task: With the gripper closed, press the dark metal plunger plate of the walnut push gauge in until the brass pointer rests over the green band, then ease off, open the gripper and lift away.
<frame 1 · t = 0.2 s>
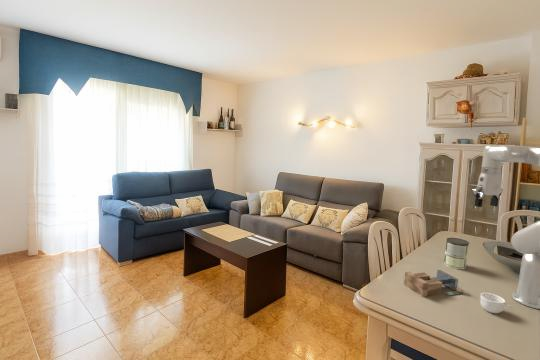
hand: (485, 206, 141), 36 cm above the table, tool pointing down, fingers open, 9 cm apart
gauge plunger: (441, 281, 132), point 3 cm above the table, slide at 0.0 cm
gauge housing: (431, 287, 133), on the table
coffee can: (454, 265, 159), on the table
teacup: (494, 311, 116), on the table
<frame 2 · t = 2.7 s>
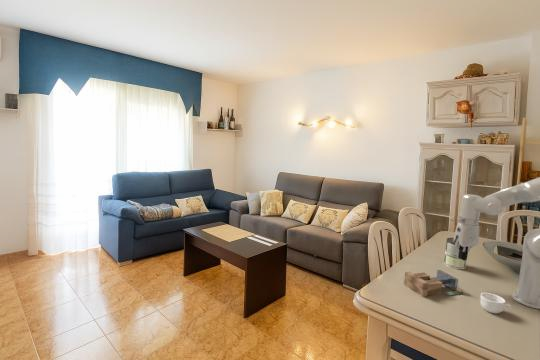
hand: (462, 258, 136), 12 cm above the table, tool pointing down, fingers closed
nothing on the table moved.
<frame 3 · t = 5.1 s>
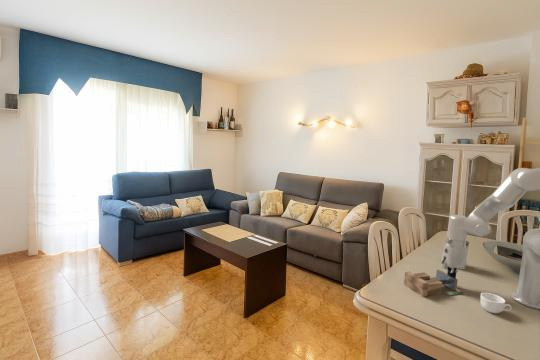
hand: (451, 279, 136), 3 cm above the table, tool pointing down, fingers closed
gauge plunger: (440, 281, 132), point 3 cm above the table, slide at 0.4 cm, touching gripper
everything else where it was.
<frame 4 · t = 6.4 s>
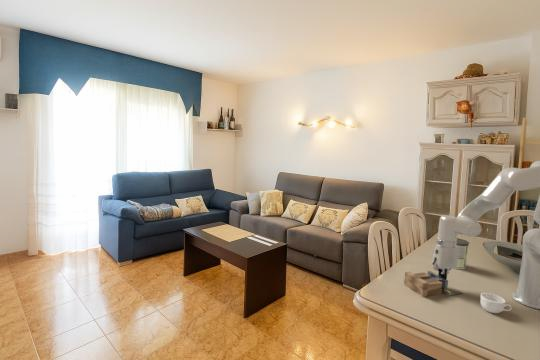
hand: (441, 281, 134), 3 cm above the table, tool pointing down, fingers closed
gauge plunger: (431, 282, 131), point 3 cm above the table, slide at 5.7 cm
everything else where it was.
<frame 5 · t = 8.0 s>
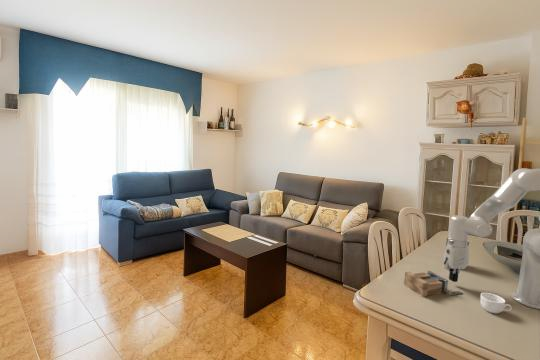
hand: (453, 280, 136), 2 cm above the table, tool pointing down, fingers closed
nothing on the table moved.
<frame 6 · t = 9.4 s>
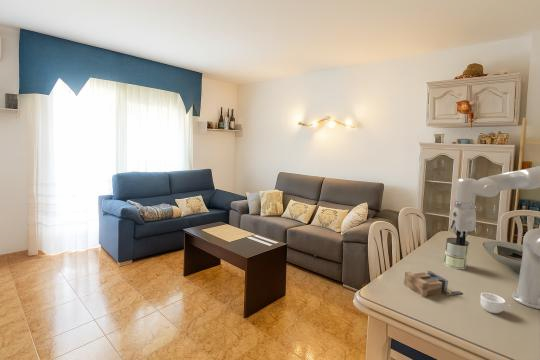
hand: (460, 244, 134), 20 cm above the table, tool pointing down, fingers closed
nothing on the table moved.
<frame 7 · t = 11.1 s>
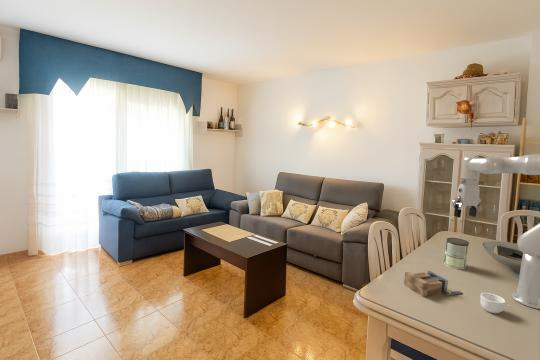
hand: (464, 216, 144), 30 cm above the table, tool pointing down, fingers open, 9 cm apart
nothing on the table moved.
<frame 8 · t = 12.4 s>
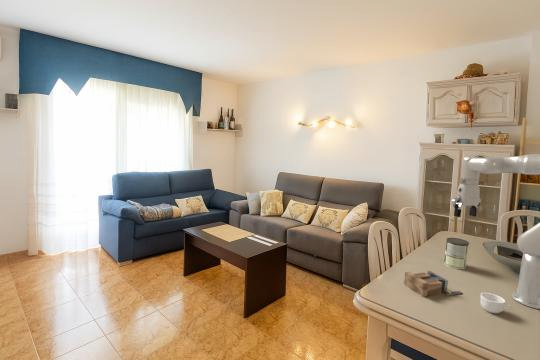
hand: (464, 216, 144), 30 cm above the table, tool pointing down, fingers open, 9 cm apart
nothing on the table moved.
at the end: gauge plunger slide at 5.8 cm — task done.
